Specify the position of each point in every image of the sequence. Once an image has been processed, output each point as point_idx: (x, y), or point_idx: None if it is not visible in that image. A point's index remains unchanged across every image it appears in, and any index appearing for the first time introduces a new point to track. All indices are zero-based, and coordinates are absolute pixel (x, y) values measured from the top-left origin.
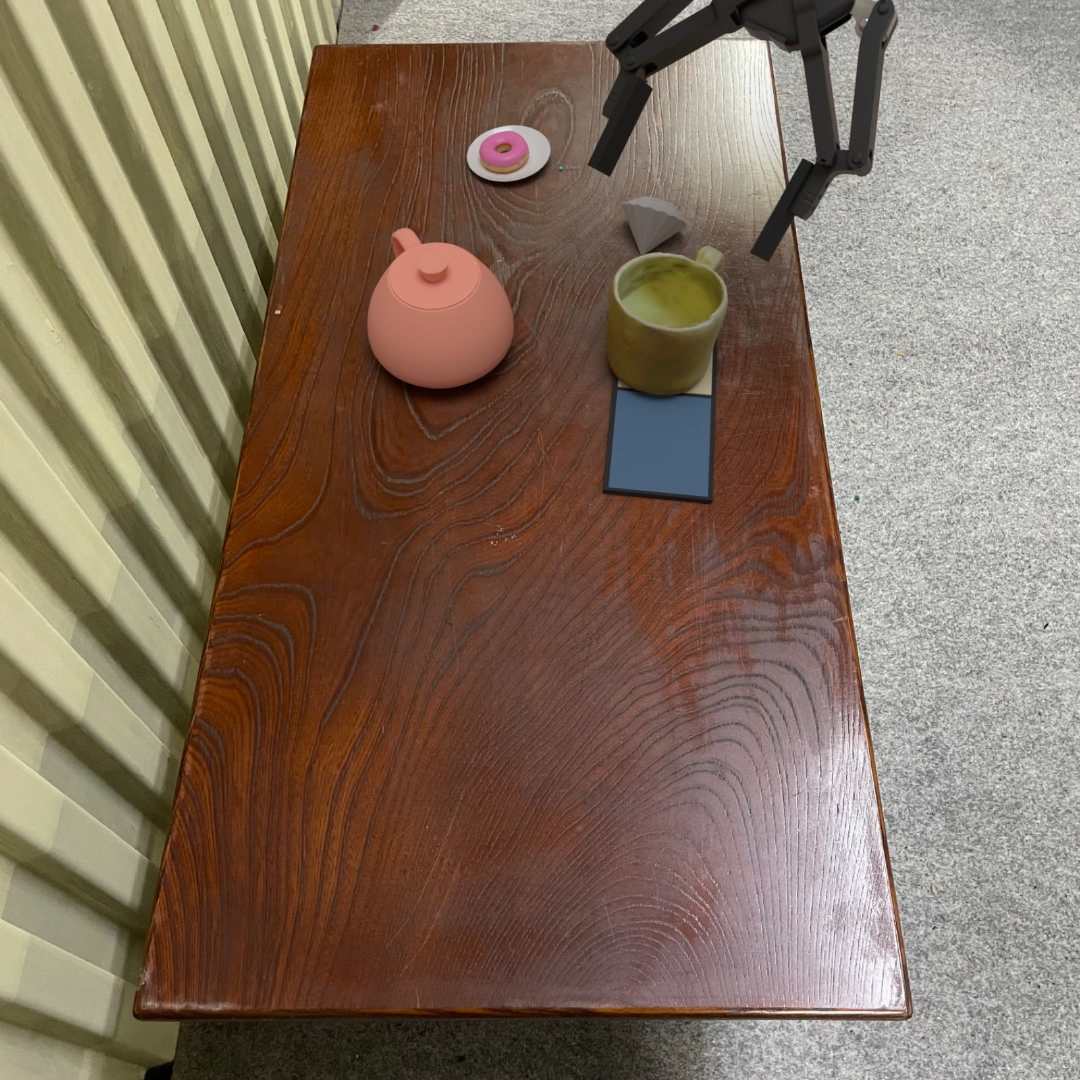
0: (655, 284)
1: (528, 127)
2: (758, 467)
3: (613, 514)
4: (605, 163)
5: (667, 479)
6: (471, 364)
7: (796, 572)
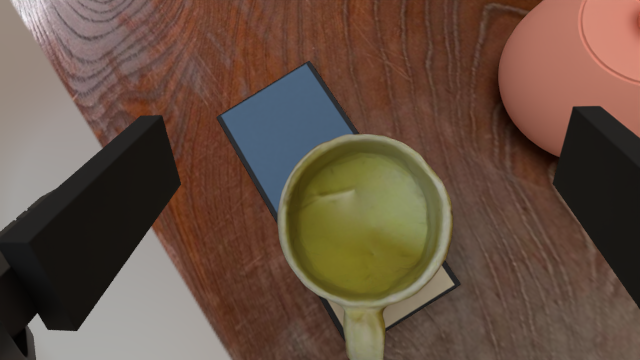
0: (408, 261)
1: None
2: (200, 184)
3: (289, 53)
4: (574, 148)
5: (263, 106)
6: (513, 37)
7: (122, 111)
